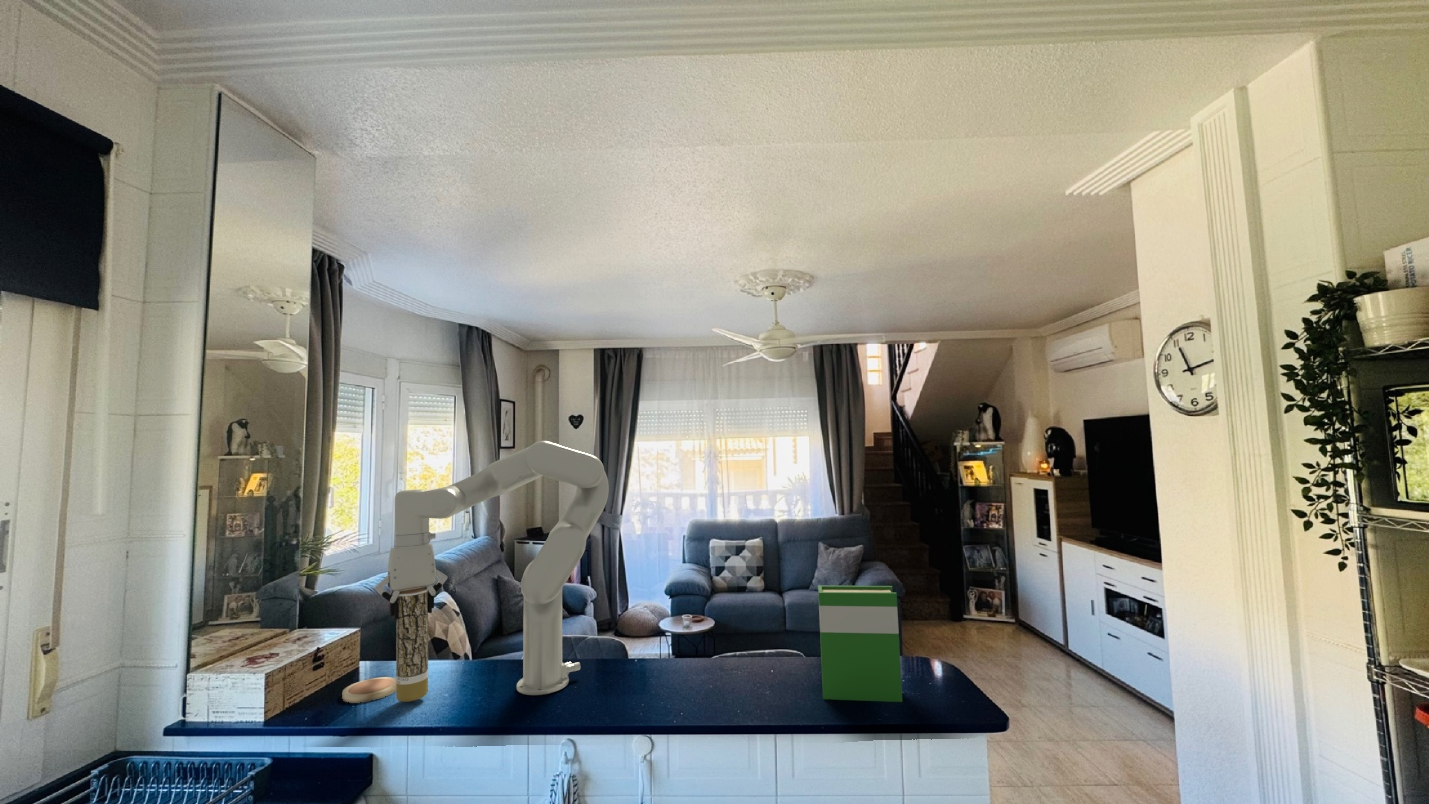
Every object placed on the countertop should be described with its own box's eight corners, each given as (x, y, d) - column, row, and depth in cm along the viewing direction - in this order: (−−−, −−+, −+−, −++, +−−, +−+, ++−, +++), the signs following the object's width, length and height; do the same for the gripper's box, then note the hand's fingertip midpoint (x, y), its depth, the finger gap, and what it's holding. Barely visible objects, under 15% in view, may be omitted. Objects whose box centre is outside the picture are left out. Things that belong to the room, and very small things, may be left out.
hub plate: (393, 679, 153) (393, 673, 153) (402, 693, 144) (402, 686, 144) (339, 692, 145) (339, 685, 146) (345, 707, 136) (345, 700, 136)
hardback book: (897, 688, 138) (891, 586, 140) (902, 702, 131) (896, 593, 133) (822, 686, 141) (818, 585, 143) (823, 699, 133) (818, 592, 136)
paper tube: (414, 703, 135) (414, 594, 137) (389, 702, 136) (389, 593, 138) (434, 691, 141) (433, 587, 143) (410, 690, 143) (410, 587, 145)
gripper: (445, 534, 150) (446, 605, 149) (368, 544, 139) (368, 620, 138) (453, 537, 144) (454, 610, 143) (374, 547, 133) (373, 626, 132)
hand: (412, 614), depth 140 cm, fingers closed on paper tube, 6 cm apart
